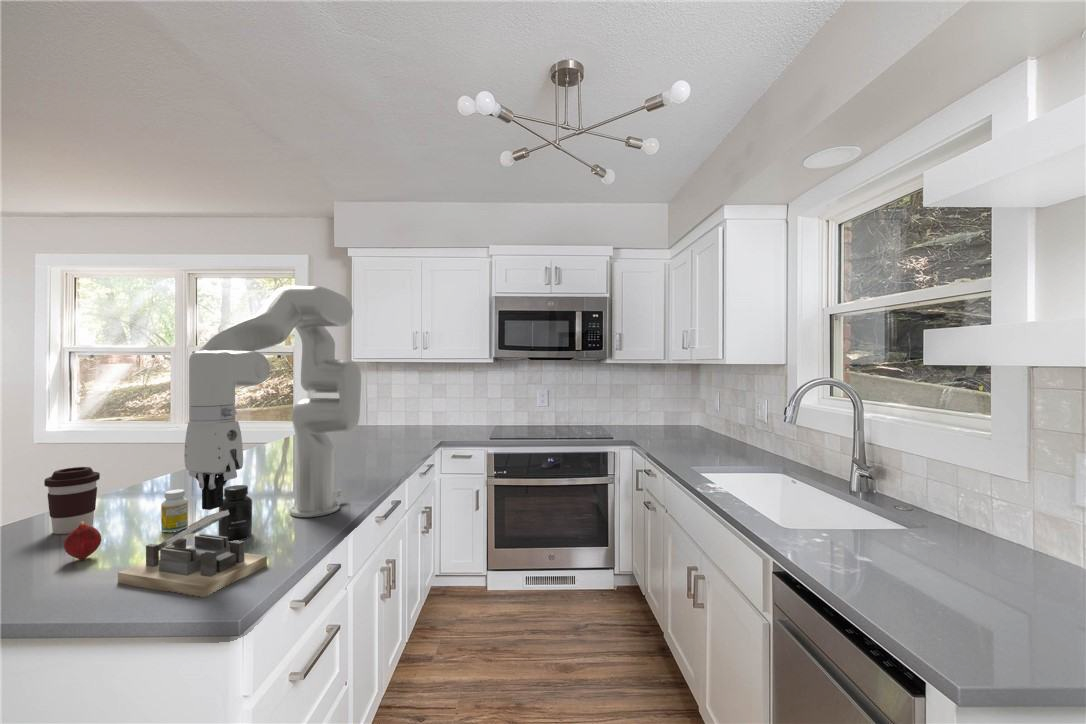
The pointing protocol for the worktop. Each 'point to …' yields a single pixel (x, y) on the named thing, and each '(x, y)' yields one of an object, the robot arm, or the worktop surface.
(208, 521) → the strap
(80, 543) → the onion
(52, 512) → the coffee cup
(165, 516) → the supplement bottle
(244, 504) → the supplement bottle
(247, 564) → the heatsink base
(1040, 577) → the worktop surface
